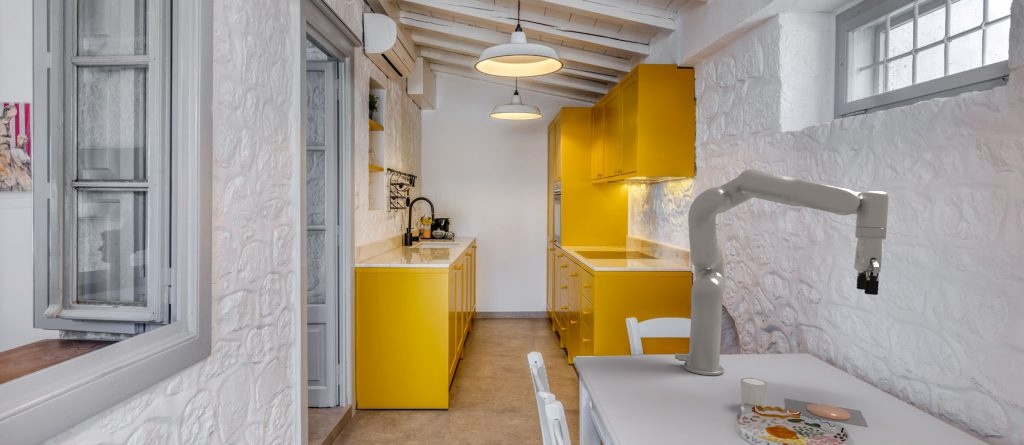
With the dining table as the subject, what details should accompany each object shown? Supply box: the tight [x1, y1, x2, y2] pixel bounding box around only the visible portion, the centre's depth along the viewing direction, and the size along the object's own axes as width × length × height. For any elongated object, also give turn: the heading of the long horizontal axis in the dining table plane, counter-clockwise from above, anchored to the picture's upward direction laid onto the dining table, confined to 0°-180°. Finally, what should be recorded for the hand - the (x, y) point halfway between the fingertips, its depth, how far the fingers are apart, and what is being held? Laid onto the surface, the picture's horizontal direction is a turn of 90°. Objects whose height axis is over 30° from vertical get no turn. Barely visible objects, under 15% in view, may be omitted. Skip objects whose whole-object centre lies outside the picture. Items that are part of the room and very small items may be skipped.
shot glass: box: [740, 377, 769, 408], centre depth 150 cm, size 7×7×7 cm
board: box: [784, 398, 869, 428], centre depth 144 cm, size 18×12×2 cm, turn 66°
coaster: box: [807, 403, 851, 420], centre depth 143 cm, size 10×10×1 cm
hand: (866, 291), depth 161 cm, fingers open, 9 cm apart
